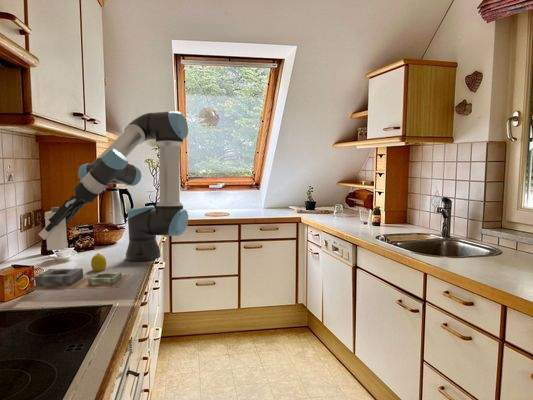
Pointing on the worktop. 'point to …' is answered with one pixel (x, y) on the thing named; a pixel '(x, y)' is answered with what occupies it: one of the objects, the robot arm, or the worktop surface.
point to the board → (76, 280)
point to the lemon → (98, 262)
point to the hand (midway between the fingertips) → (45, 235)
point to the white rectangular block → (56, 233)
